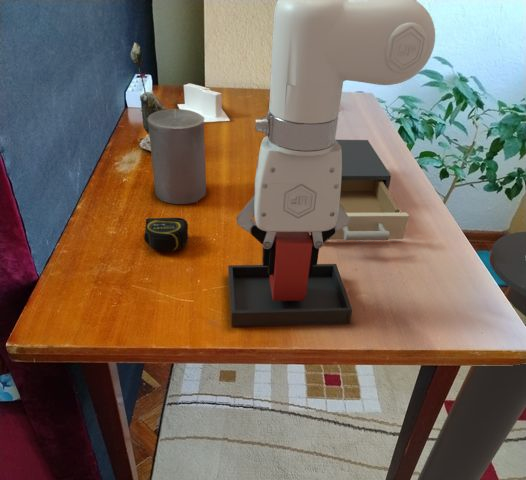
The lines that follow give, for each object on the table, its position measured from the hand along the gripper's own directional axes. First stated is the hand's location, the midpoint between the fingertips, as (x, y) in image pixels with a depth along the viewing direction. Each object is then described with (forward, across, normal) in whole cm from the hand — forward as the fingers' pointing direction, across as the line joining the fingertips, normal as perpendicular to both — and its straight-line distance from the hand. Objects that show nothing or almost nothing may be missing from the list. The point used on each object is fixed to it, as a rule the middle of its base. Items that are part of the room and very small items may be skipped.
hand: (289, 267), depth 66 cm
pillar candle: (+6, -16, +34) cm, 38 cm away
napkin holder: (+6, -12, +81) cm, 82 cm away
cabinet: (+5, +14, +37) cm, 40 cm away
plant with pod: (+6, -22, +56) cm, 60 cm away
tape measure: (+6, -18, +16) cm, 25 cm away
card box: (+4, 0, 0) cm, 4 cm away
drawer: (+5, +14, +21) cm, 26 cm away
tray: (+6, 0, 0) cm, 6 cm away
